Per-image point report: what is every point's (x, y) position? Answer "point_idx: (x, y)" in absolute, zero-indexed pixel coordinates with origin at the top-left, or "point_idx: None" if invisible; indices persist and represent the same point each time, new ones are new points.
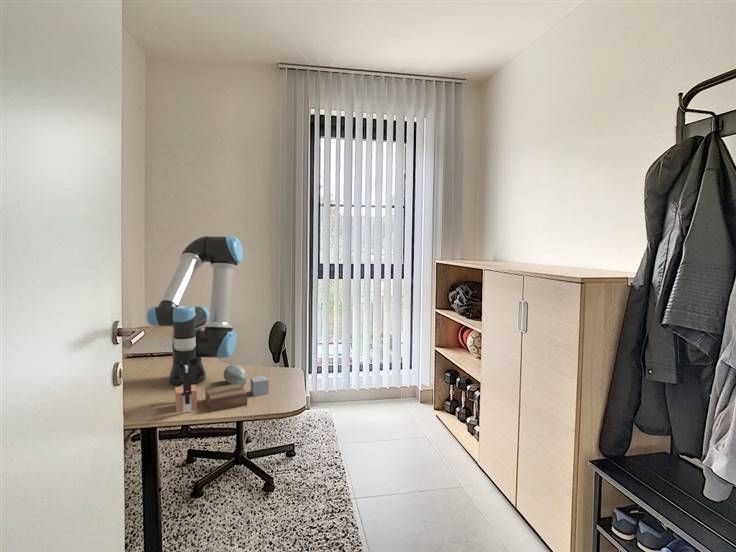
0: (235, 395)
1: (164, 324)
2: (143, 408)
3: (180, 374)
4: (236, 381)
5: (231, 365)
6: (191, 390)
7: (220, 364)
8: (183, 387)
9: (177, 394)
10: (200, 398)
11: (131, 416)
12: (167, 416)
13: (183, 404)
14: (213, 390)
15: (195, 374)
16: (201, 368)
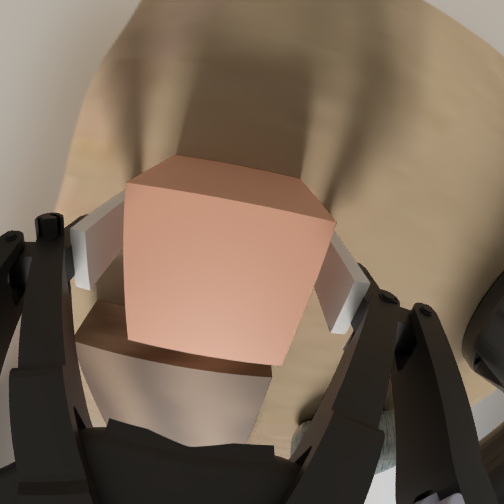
0: (99, 409)
1: None
2: (364, 20)
3: (446, 347)
4: (297, 446)
5: (381, 470)
6: (146, 314)
7: (493, 389)
8: (30, 270)
9: (129, 192)
10: (304, 316)
11: None
12: (137, 96)
13: (106, 203)
14: (206, 392)
15: (486, 354)
16: (490, 381)
